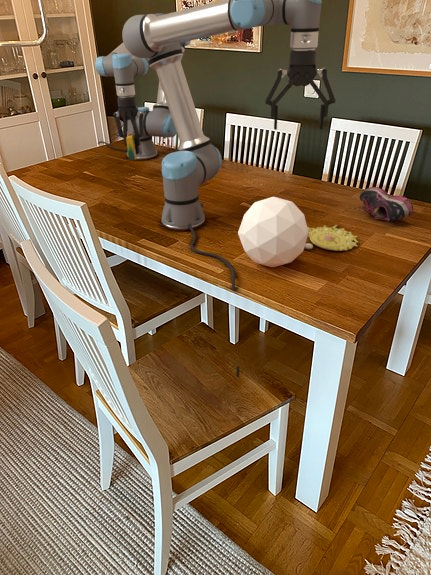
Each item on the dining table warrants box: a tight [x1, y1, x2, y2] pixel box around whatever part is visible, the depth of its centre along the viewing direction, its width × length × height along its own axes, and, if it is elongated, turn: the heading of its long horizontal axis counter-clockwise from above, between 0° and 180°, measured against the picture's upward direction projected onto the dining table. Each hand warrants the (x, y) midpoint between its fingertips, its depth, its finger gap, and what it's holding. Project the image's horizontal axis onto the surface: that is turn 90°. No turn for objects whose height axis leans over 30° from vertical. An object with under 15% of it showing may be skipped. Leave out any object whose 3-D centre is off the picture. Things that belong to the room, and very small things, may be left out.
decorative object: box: [304, 224, 359, 252], centre depth 141 cm, size 21×2×20 cm
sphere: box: [237, 196, 309, 268], centre depth 125 cm, size 19×20×20 cm
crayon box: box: [126, 131, 139, 161], centre depth 193 cm, size 7×3×12 cm, turn 174°
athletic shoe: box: [359, 186, 414, 223], centre depth 153 cm, size 11×22×12 cm
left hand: (133, 153), depth 195 cm, fingers closed on crayon box, 3 cm apart
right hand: (297, 128), depth 134 cm, fingers open, 13 cm apart
